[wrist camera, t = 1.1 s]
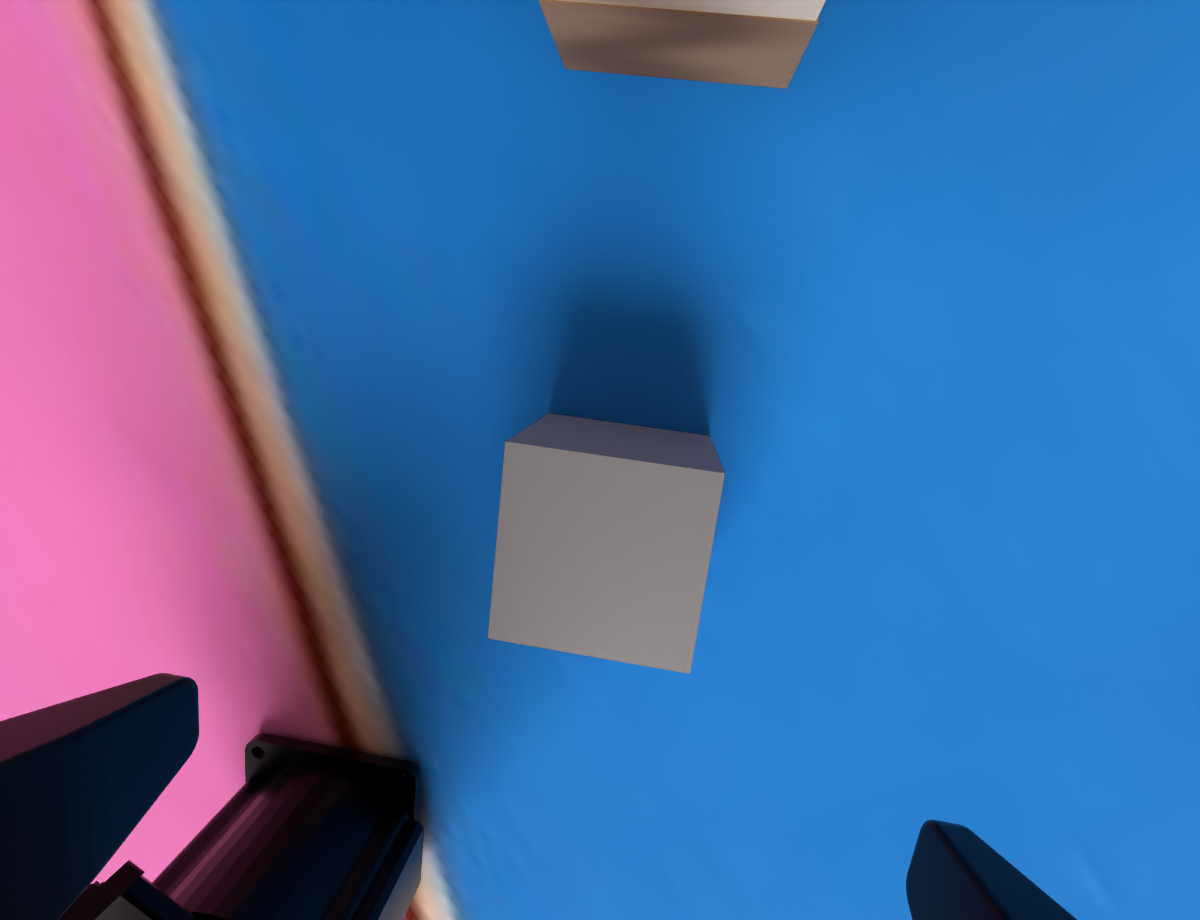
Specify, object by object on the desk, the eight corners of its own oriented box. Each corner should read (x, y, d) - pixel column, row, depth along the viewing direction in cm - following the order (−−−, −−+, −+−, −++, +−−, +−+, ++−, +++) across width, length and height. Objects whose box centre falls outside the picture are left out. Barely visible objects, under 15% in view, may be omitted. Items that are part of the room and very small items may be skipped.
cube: (533, 562, 19) (488, 638, 15) (548, 412, 18) (505, 441, 13) (684, 586, 19) (689, 673, 14) (709, 435, 18) (725, 473, 13)
